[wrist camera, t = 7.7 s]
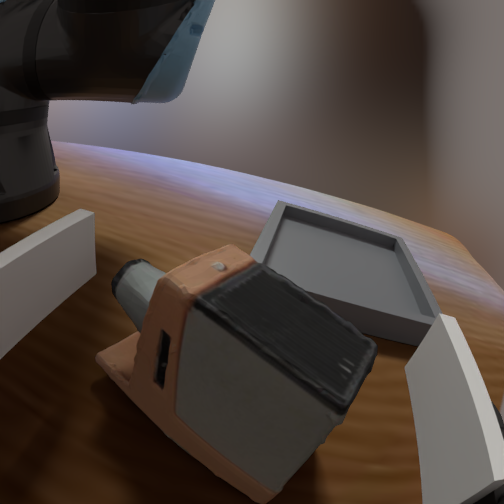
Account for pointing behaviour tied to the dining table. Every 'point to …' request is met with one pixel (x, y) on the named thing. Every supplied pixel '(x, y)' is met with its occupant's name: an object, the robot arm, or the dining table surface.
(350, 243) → the dock tray
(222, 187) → the dining table surface
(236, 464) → the electronic device
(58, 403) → the dining table surface
